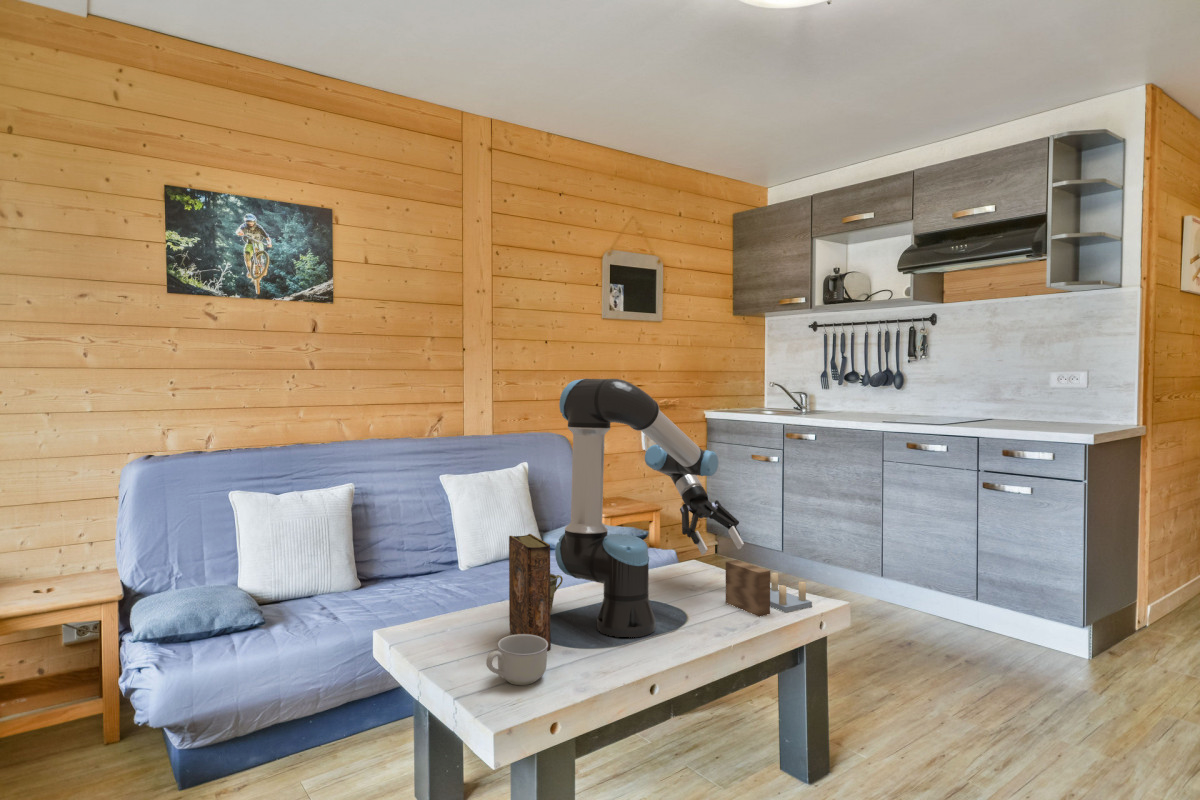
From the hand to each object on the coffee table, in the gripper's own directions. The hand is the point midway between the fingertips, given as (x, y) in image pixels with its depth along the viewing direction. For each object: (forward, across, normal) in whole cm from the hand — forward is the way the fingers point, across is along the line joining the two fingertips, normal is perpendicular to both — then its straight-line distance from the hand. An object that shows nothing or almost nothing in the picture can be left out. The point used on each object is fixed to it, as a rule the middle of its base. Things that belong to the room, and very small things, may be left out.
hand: (723, 549), depth 203 cm
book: (+12, +63, -8) cm, 65 cm away
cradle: (+18, -12, -3) cm, 21 cm away
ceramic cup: (-1, +51, -21) cm, 55 cm away
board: (+18, 0, -3) cm, 18 cm away
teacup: (+26, +75, +6) cm, 80 cm away
